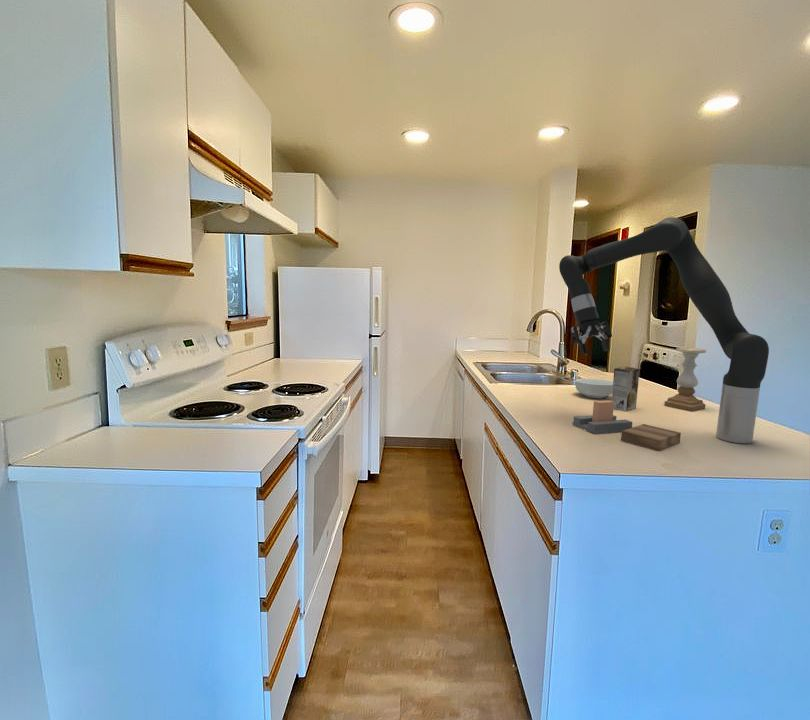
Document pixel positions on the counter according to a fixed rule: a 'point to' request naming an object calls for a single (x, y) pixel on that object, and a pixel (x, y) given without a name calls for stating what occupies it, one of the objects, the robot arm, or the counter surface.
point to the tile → (602, 411)
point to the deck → (651, 437)
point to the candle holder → (687, 383)
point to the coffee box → (625, 388)
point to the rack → (601, 425)
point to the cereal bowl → (594, 387)
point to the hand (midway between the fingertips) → (596, 352)
